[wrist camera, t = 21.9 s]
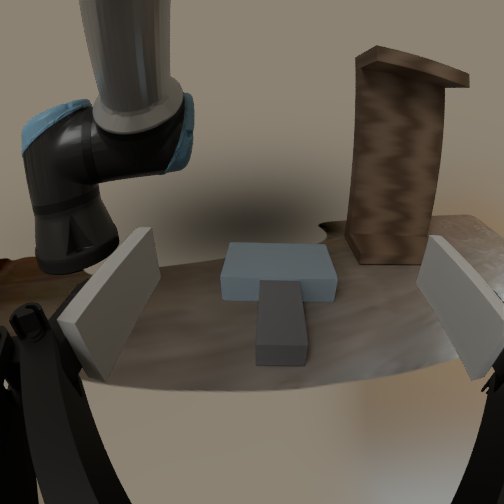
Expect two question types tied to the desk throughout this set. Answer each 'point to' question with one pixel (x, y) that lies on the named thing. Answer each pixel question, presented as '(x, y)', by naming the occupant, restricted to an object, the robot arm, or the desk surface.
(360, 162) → the shelf stand
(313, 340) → the desk surface
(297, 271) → the grey toy mallet
